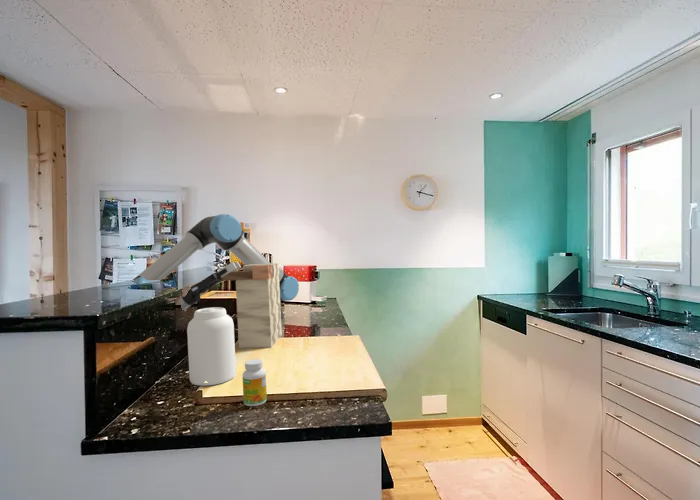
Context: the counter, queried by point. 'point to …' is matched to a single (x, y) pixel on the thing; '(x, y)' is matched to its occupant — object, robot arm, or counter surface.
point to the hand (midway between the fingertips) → (236, 264)
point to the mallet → (250, 274)
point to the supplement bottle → (254, 383)
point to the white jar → (211, 347)
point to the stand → (259, 310)
